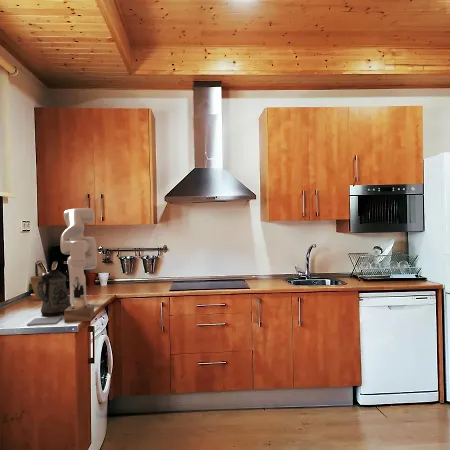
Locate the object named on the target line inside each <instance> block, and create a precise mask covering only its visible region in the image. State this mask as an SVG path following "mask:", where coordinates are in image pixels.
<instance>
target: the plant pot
mask: <svg viewBox="0 0 450 450" xmlns="http://www.w3.org/2000/svg"><path fill="white" fill-rule="evenodd" d="M43 275H44V274H43ZM43 275H42V274H41V275H35V276H34V275H33V276H30V283H31V286H32V287H31V288H32V290H33V293H34V295H35V298H36V299H37V301H43V300H42V299H41V298H40V297H39V295H38V293H37V285H38V282H39V281H40V280H42V276H43ZM44 286H45V284H44ZM44 286H43V292H44Z"/></svg>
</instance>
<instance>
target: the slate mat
mask: <svg viewBox="0 0 450 450" xmlns="http://www.w3.org/2000/svg"><path fill="white" fill-rule="evenodd" d="M62 319H63V317H62V316H56V317H35V318H33V319H32V320H30V321H29V322H28V323H27V324H26V326H28V327H29V326H43V325H44V326H47V325H57V324H58V323H59V322H60V321H61V320H62Z"/></svg>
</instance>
